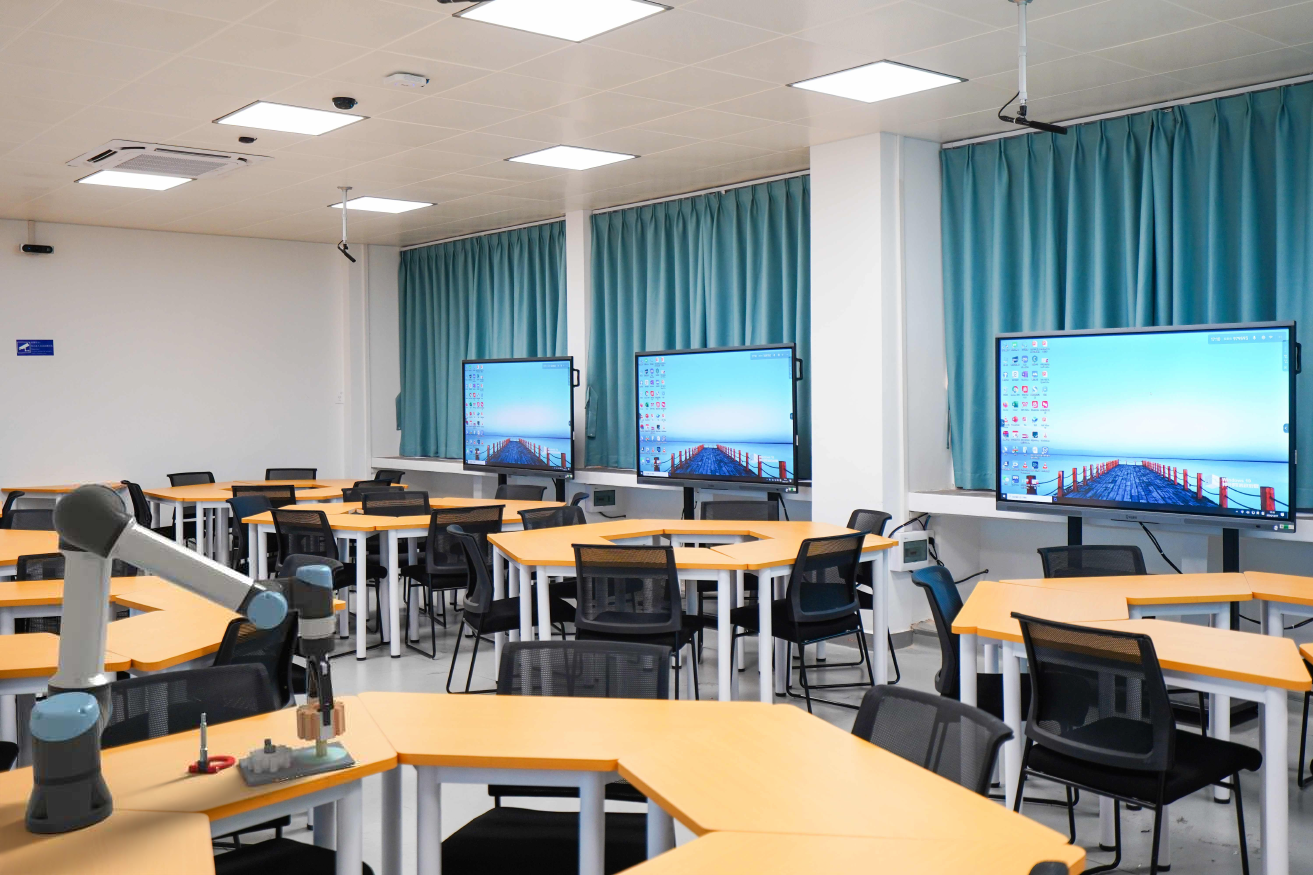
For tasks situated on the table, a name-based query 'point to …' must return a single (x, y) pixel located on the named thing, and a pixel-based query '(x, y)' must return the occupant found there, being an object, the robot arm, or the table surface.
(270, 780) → the gear board
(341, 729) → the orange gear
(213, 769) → the tow hook
